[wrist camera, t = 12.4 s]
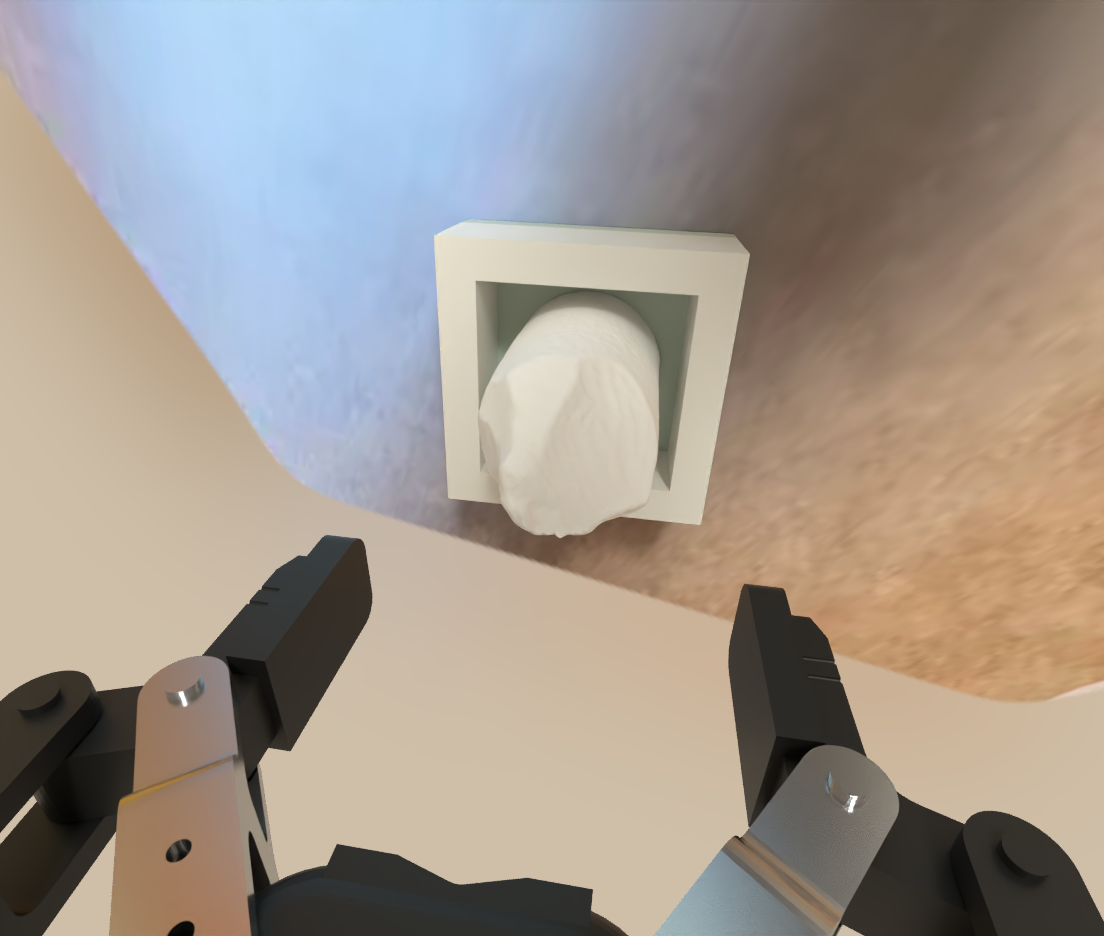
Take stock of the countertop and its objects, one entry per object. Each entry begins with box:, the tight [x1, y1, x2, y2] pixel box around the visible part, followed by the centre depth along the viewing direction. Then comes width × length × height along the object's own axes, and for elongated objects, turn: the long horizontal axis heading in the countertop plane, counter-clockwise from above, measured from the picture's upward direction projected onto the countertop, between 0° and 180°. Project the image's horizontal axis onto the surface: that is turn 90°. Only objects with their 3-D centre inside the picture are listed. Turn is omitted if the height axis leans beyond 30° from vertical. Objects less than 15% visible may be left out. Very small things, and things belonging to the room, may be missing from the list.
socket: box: [434, 219, 750, 525], centre depth 25 cm, size 10×10×4 cm
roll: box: [478, 291, 660, 538], centre depth 20 cm, size 6×12×6 cm
